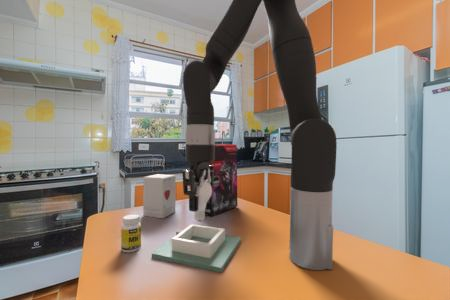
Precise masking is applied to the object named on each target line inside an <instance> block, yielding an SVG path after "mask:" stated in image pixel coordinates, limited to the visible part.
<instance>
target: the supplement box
mask: <svg viewBox="0 0 450 300" xmlns="http://www.w3.org/2000/svg"><path fill="white" fill-rule="evenodd" d="M142 200H143V202H142V204H143V207H142V208H143V209H142V210H143V211H142V213H143V214H142V215H143V216H144V217H150V218H156V219H165V218H166V217H168V216H170V215H171V214H174V213H176V174H162V173H156V174H151V175H146V176H143V198H142Z"/></svg>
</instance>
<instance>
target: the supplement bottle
mask: <svg viewBox="0 0 450 300" xmlns="http://www.w3.org/2000/svg"><path fill="white" fill-rule="evenodd" d="M140 220H141V219H140V215H139V214H127V215H125V216H123V217H122V224H121V228H120V229H121V230H120V232H121V235H120V236H121V241H120V243H121V244H120V248H121V251H122V252H124V253H134V252H136V251H138V250H139V249H140V248H141V247H142V224H141V222H140Z"/></svg>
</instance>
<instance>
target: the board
mask: <svg viewBox="0 0 450 300" xmlns="http://www.w3.org/2000/svg"><path fill="white" fill-rule="evenodd" d="M175 233H176V234H175V236H173V237H172V238H171V239H169V240H168V241H167V242H165V243H164V244H163V245H161V246H159V248H157V249H156V250H154V251H153V252H151V258H153V259H157V260H162V261H167V262H171V263H176V264H180V265H184V266H189V267H195V268H199V269H204V270H209V271H212V272H217V273H222V272H223V270H224V269H225V267H226V266H227V264H228V263H229V261H230V259H231V258H232V256H233V255H234V253H235V251H236V250H237V248H238V247H239V245H240V244H241V242H242V237H239V236H233V235H227V234H226V228H222V227H215V226H208V225H200V224H194V223H191V224H190V225H188V226H187V227H186V228H180V229H178V230H177V231H176V232H175Z"/></svg>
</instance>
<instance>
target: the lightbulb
mask: <svg viewBox="0 0 450 300" xmlns="http://www.w3.org/2000/svg"><path fill="white" fill-rule="evenodd" d="M195 183H196V182H195ZM188 188H189V186H188ZM195 189H196V187H195ZM211 194H212V187H211V185H210V183H209V182H208V181H206V180H203V184H202V187H201V188H200V189H199V194H198V211H196V212H194V219H195V220H196V221H197V222H201V221H204V220H205V218H206V217H205V216H206V215H205V208H206V204H207V202H208V200H209V199H210V197H211Z"/></svg>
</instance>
